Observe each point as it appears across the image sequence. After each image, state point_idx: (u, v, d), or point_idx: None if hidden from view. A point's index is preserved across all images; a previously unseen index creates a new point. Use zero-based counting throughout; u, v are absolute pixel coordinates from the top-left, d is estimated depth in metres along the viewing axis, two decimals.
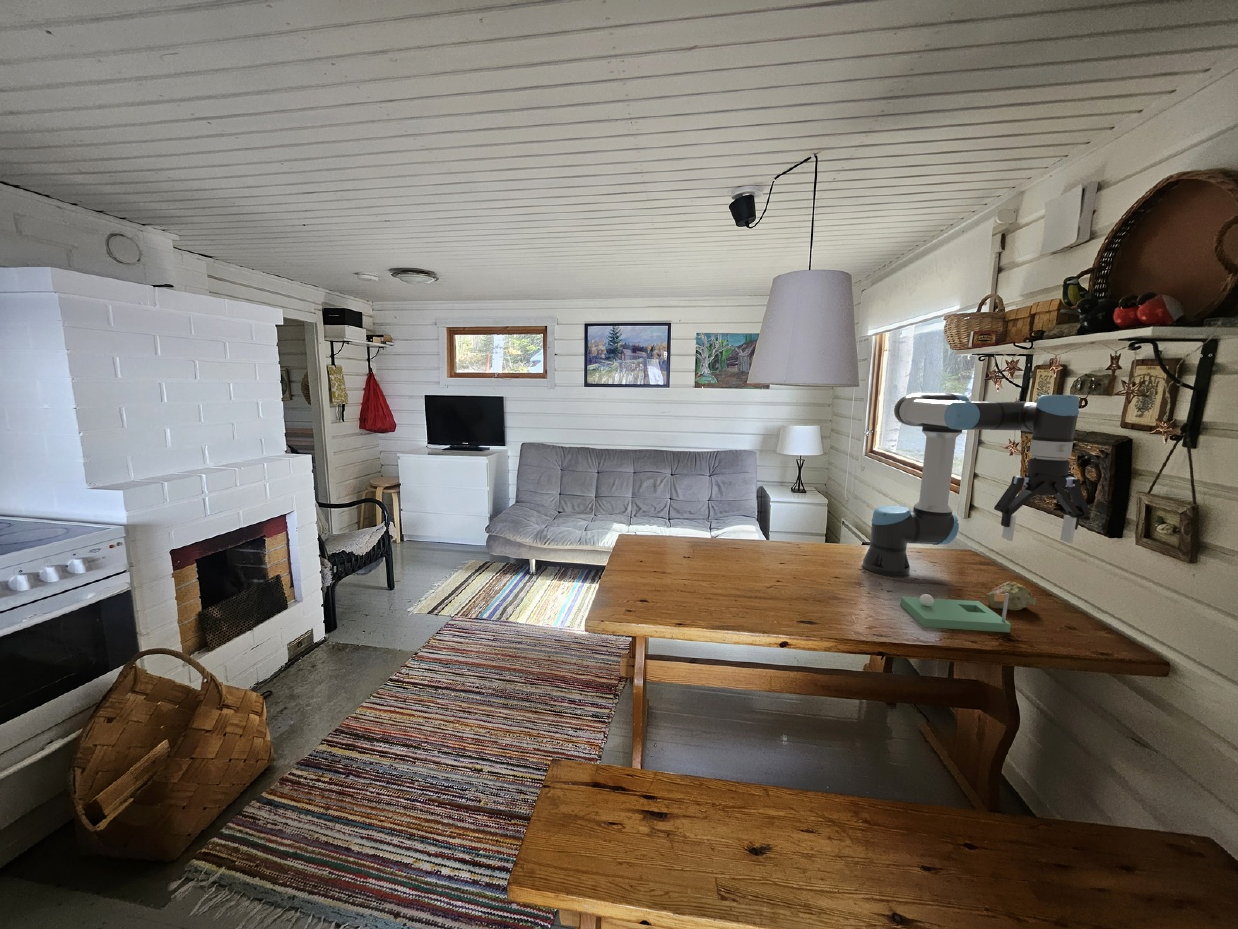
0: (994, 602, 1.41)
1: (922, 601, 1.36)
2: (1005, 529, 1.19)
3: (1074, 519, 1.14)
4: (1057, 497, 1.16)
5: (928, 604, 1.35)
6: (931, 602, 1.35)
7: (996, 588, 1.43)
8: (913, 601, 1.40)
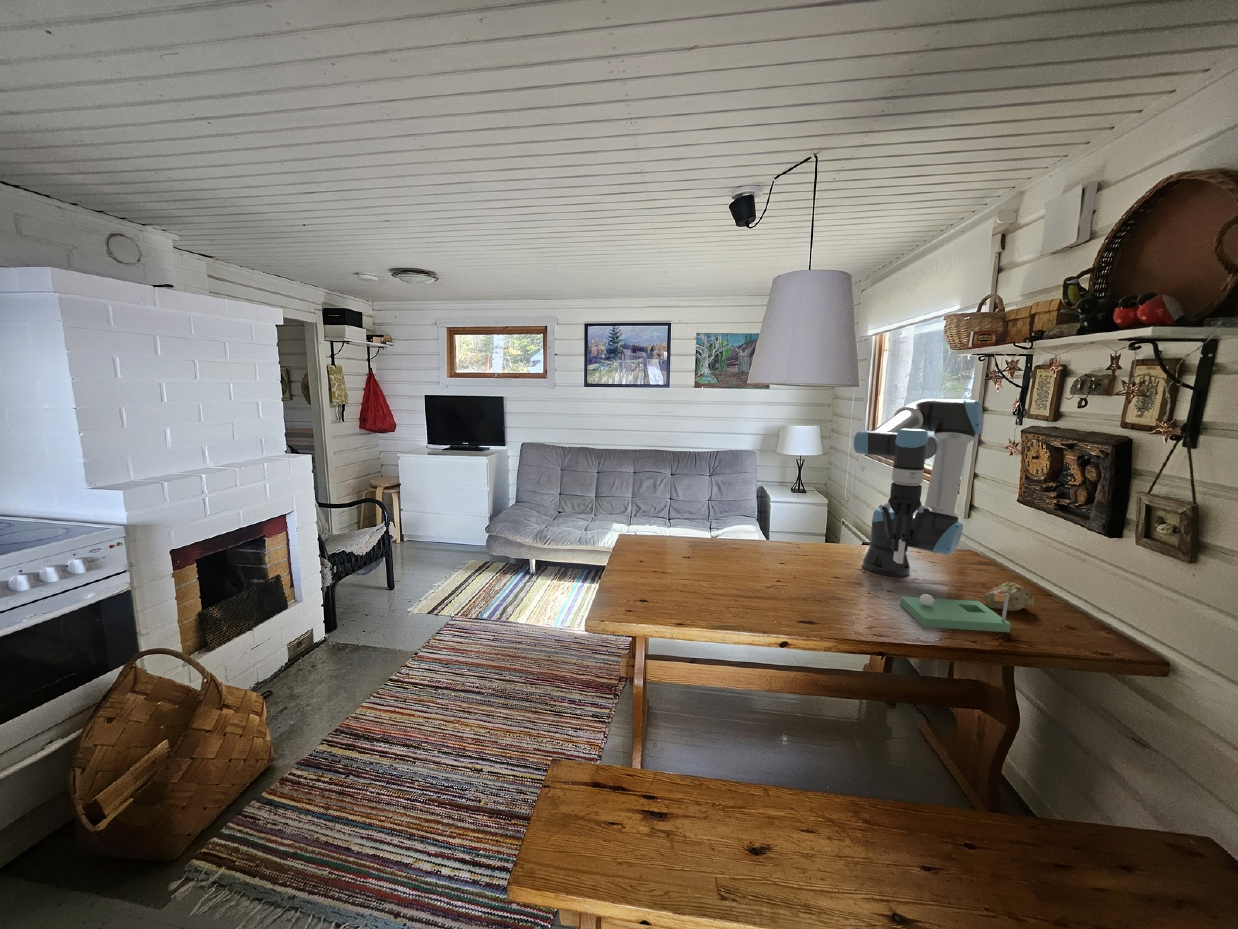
0: (992, 602, 1.41)
1: (922, 601, 1.36)
2: (895, 553, 1.36)
3: (903, 543, 1.34)
4: (904, 518, 1.34)
5: (928, 604, 1.35)
6: (931, 602, 1.35)
7: (994, 588, 1.43)
8: (913, 601, 1.40)
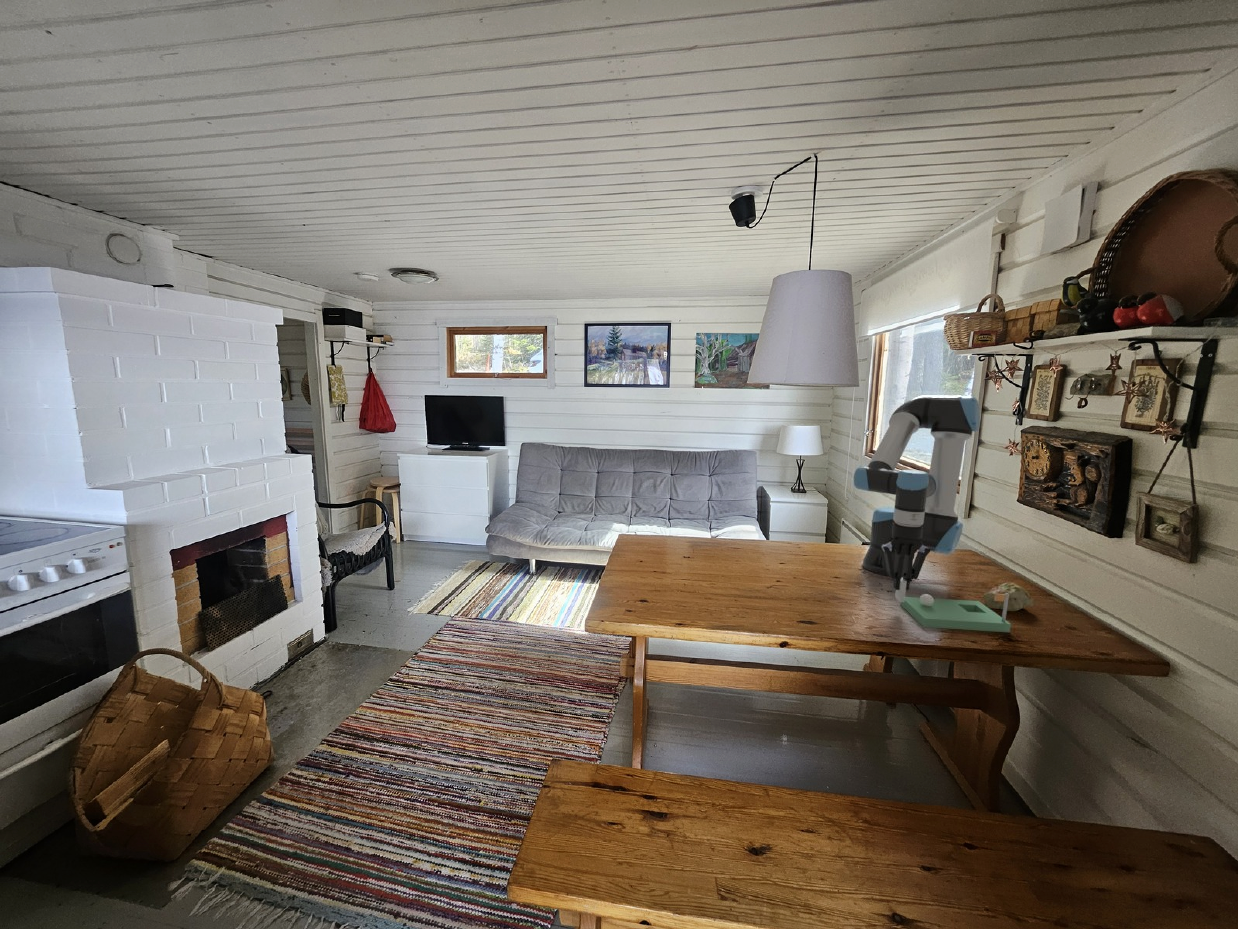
0: (990, 602, 1.41)
1: (922, 601, 1.36)
2: (896, 591, 1.38)
3: (905, 582, 1.36)
4: (905, 558, 1.36)
5: (928, 604, 1.35)
6: (931, 602, 1.35)
7: (994, 588, 1.43)
8: (913, 601, 1.40)
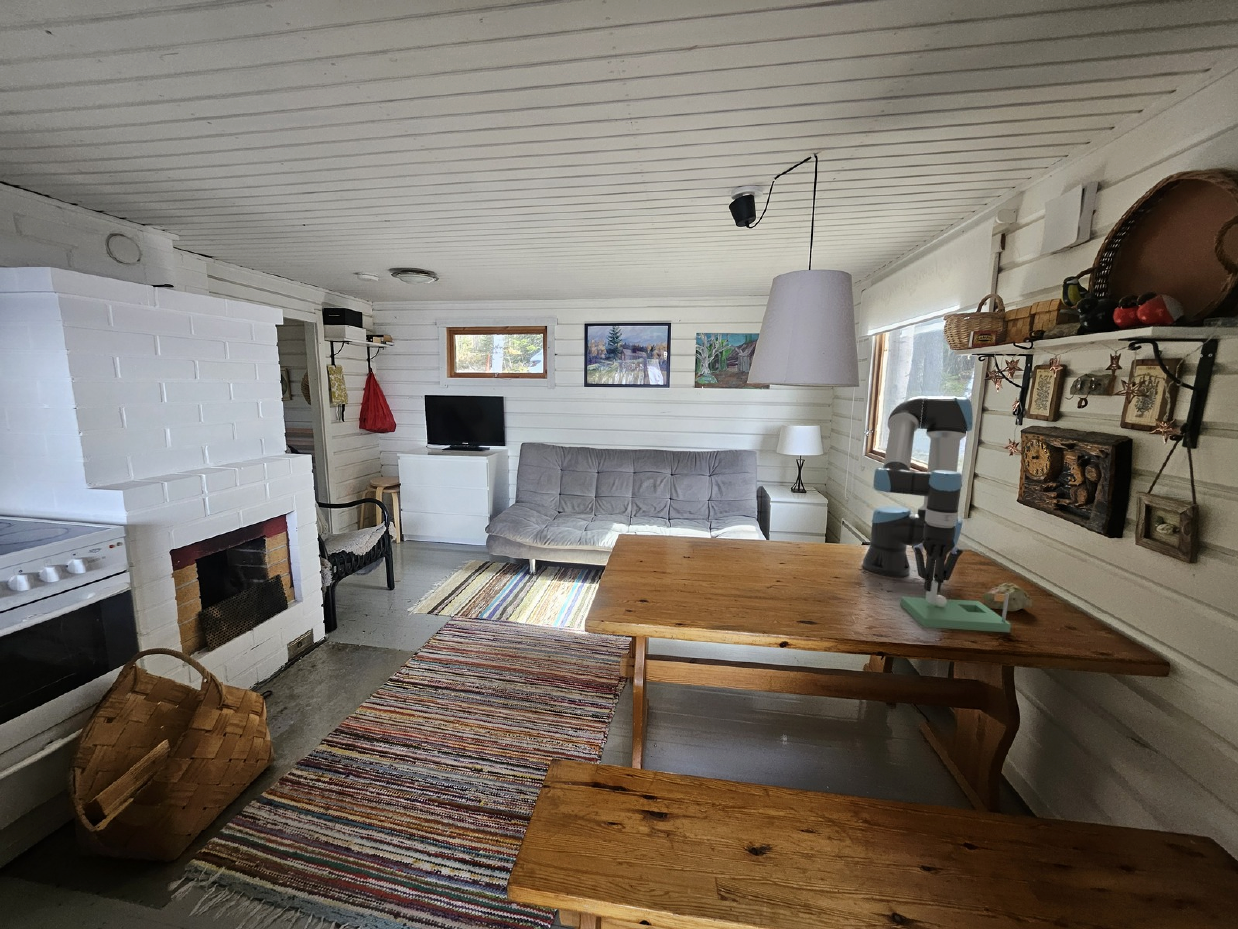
0: (989, 602, 1.41)
1: (942, 597, 1.35)
2: (927, 593, 1.37)
3: (936, 583, 1.34)
4: (937, 559, 1.35)
5: (940, 602, 1.35)
6: (942, 605, 1.35)
7: (993, 588, 1.43)
8: (913, 601, 1.40)
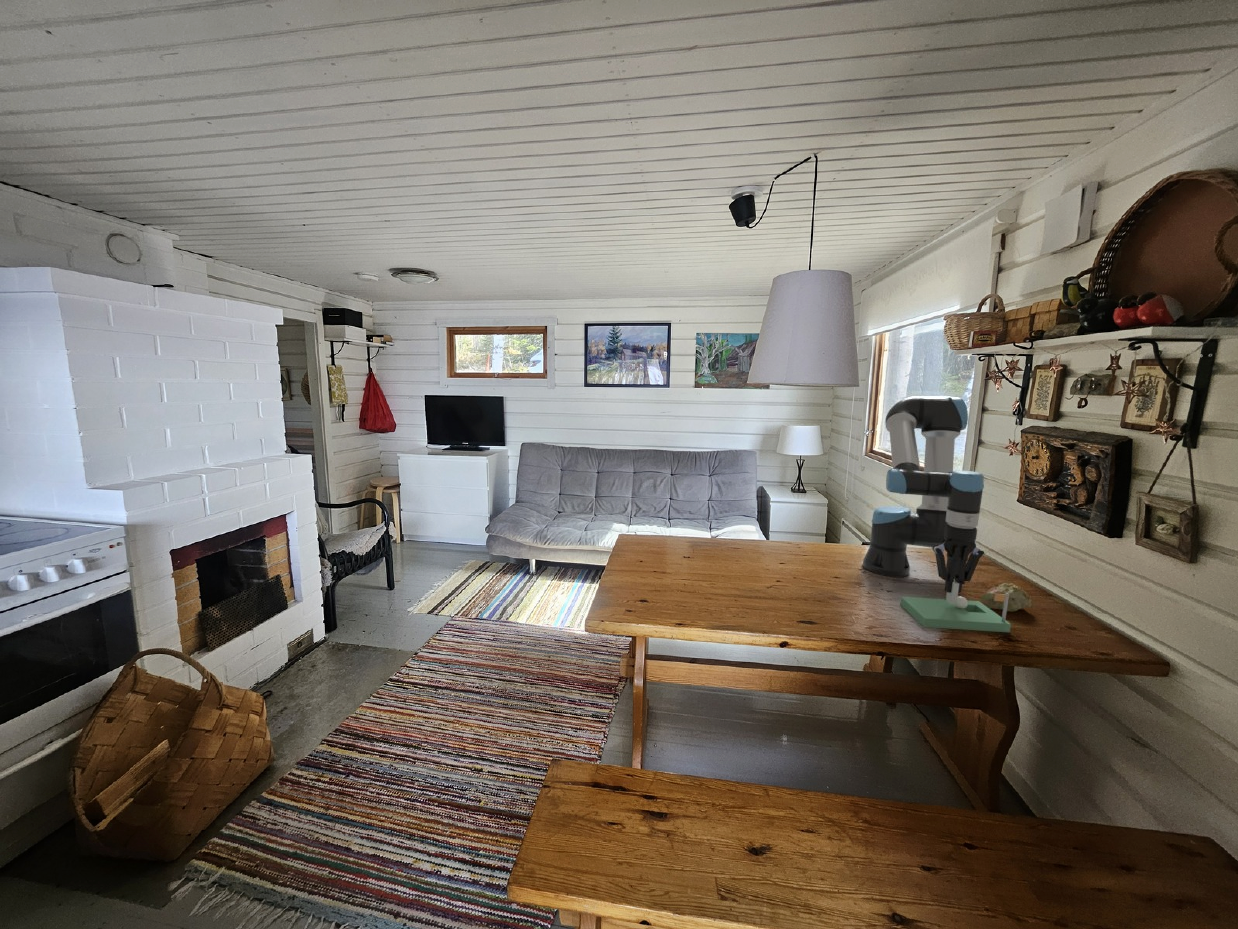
0: (988, 602, 1.41)
1: (962, 608, 1.35)
2: (948, 594, 1.36)
3: (957, 584, 1.34)
4: (958, 560, 1.34)
5: (965, 605, 1.34)
6: (963, 603, 1.34)
7: (992, 588, 1.43)
8: (913, 601, 1.40)
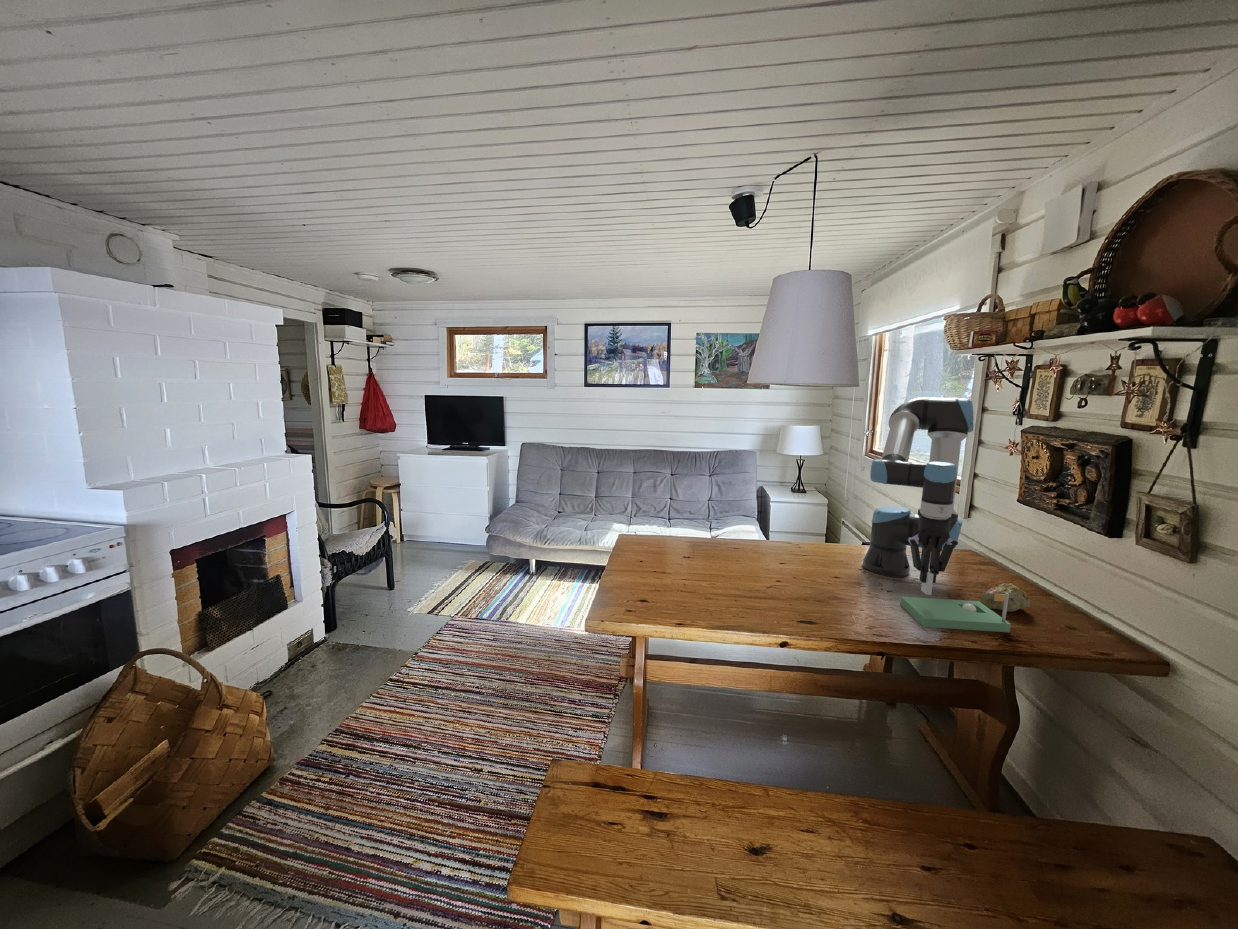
0: (987, 602, 1.41)
1: (965, 609, 1.35)
2: (923, 584, 1.37)
3: (932, 575, 1.35)
4: (932, 550, 1.35)
5: None
6: None
7: (991, 589, 1.43)
8: (913, 601, 1.40)
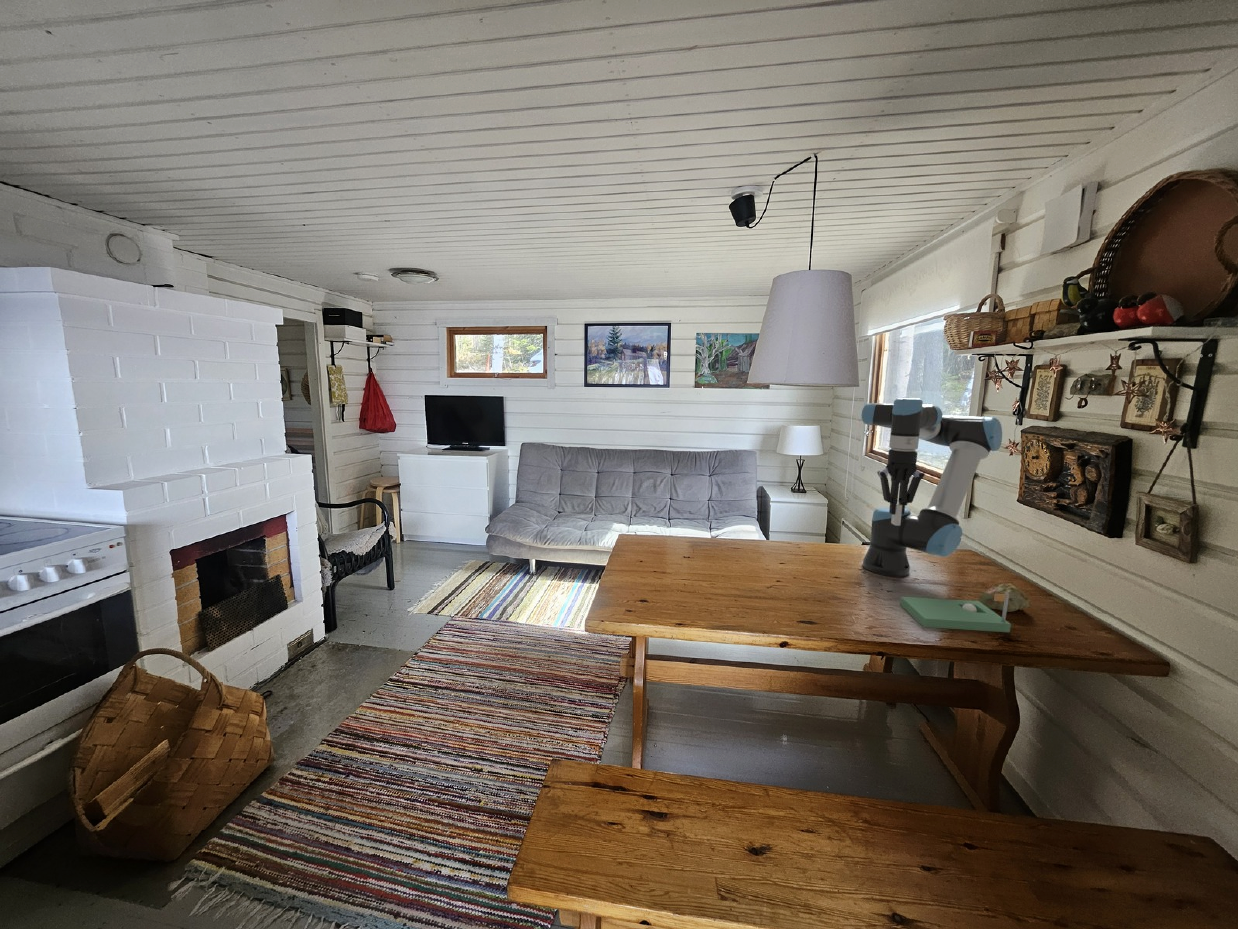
0: (985, 602, 1.41)
1: (966, 609, 1.35)
2: (892, 516, 1.45)
3: (900, 506, 1.42)
4: (901, 483, 1.43)
5: None
6: None
7: (990, 589, 1.43)
8: (913, 601, 1.40)
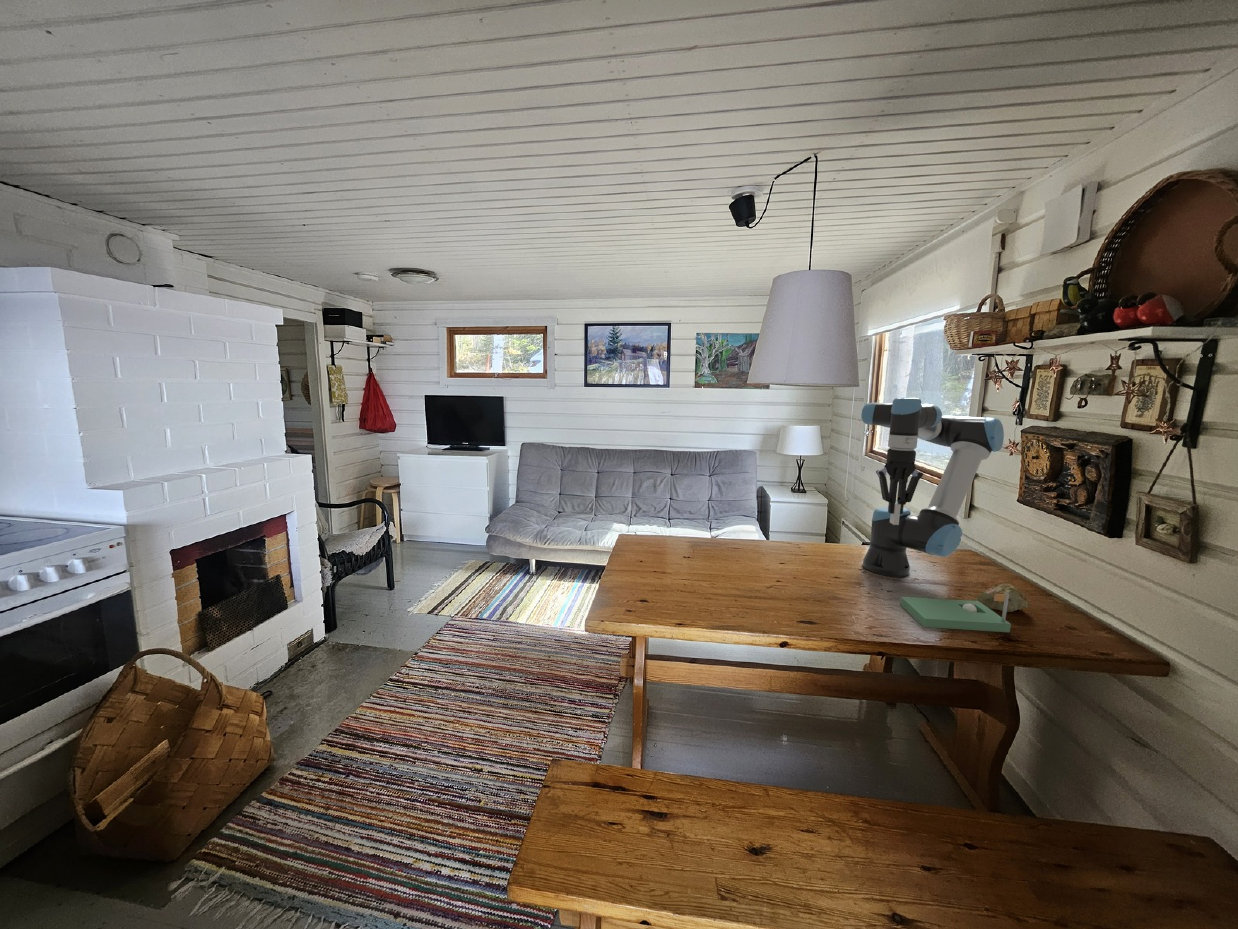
0: (984, 602, 1.41)
1: (966, 609, 1.35)
2: (891, 515, 1.45)
3: (899, 505, 1.42)
4: (900, 482, 1.43)
5: None
6: None
7: (989, 589, 1.43)
8: (913, 601, 1.40)
